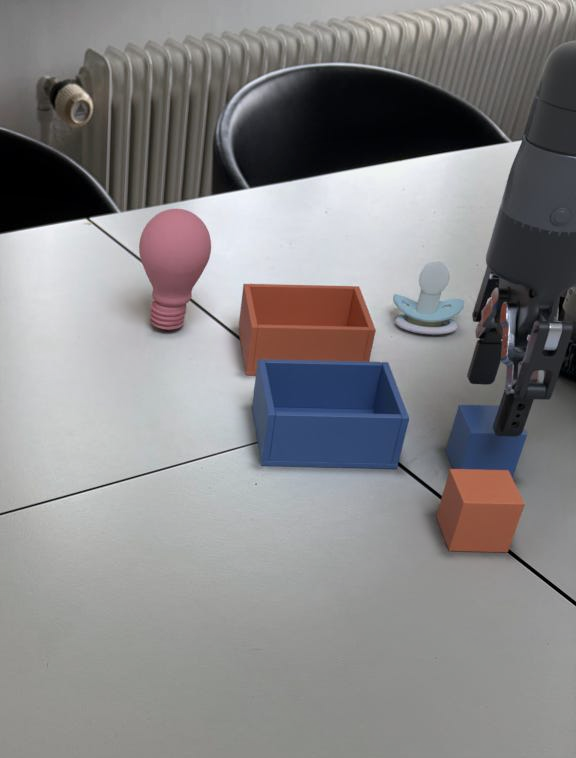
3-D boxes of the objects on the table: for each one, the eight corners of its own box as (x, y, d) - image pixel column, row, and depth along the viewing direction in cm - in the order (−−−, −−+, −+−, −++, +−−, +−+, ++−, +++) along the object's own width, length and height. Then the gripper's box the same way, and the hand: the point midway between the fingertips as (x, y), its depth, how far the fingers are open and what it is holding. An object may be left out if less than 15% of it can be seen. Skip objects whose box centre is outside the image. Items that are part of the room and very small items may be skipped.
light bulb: (216, 324, 109) (227, 208, 101) (181, 349, 105) (190, 231, 97) (158, 306, 112) (165, 192, 104) (122, 330, 108) (126, 213, 100)
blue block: (497, 451, 92) (512, 405, 89) (511, 481, 88) (527, 434, 85) (445, 450, 92) (458, 404, 89) (457, 479, 88) (471, 432, 85)
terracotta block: (492, 517, 84) (508, 469, 81) (508, 552, 81) (525, 504, 78) (436, 516, 84) (449, 468, 81) (448, 551, 81) (463, 502, 78)
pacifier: (462, 341, 107) (457, 314, 112) (478, 284, 103) (472, 257, 107) (390, 335, 108) (387, 309, 112) (403, 278, 104) (400, 252, 108)
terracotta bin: (350, 332, 108) (359, 286, 105) (366, 377, 101) (376, 329, 98) (238, 329, 108) (243, 283, 105) (245, 375, 101) (251, 327, 98)
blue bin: (377, 411, 97) (388, 361, 93) (397, 469, 89) (409, 418, 86) (251, 408, 97) (257, 358, 93) (261, 465, 90) (268, 414, 86)
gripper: (642, 248, 70) (563, 455, 81) (575, 176, 80) (514, 368, 91) (531, 244, 70) (467, 452, 81) (479, 172, 81) (428, 364, 91)
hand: (492, 407), depth 86 cm, fingers open, 8 cm apart
